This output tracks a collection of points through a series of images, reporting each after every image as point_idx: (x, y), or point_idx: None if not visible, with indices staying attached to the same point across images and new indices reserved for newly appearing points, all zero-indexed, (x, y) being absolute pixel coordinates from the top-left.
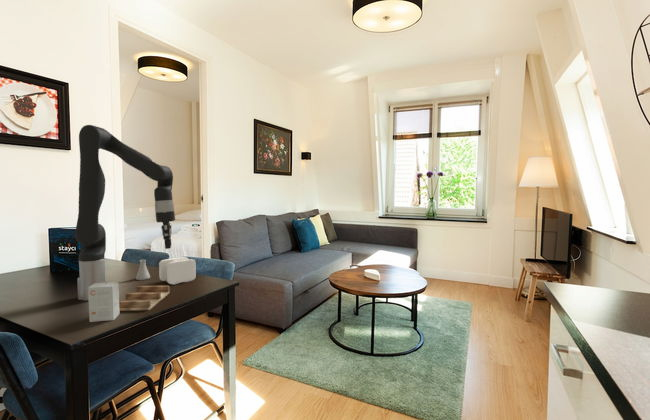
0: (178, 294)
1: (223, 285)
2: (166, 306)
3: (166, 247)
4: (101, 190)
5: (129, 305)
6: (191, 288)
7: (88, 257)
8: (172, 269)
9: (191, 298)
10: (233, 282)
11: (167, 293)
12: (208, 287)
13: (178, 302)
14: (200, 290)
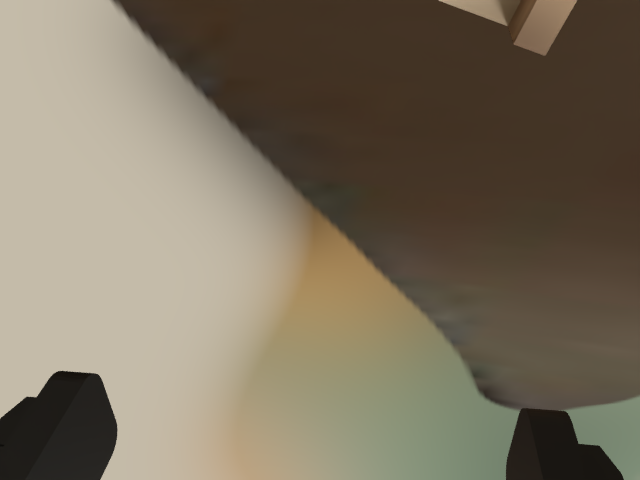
0: (444, 100)
1: (506, 364)
2: (172, 10)
3: (26, 403)
4: None
5: None
6: (562, 197)
7: None
8: None
9: (304, 176)
10: None
11: (486, 15)
12: (514, 292)
13: (242, 93)
14: (468, 243)
